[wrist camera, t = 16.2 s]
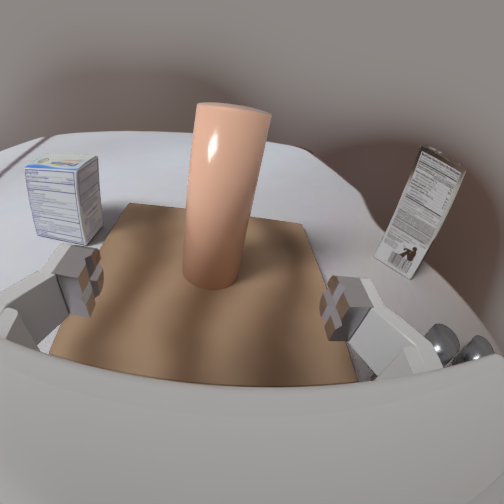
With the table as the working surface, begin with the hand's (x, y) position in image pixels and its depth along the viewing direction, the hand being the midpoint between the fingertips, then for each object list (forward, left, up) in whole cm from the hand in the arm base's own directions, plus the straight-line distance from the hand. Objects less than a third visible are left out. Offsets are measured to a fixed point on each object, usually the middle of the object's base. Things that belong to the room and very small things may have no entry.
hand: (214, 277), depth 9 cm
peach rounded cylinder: (0, +12, -10) cm, 16 cm away
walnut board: (0, +12, -11) cm, 16 cm away
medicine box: (-17, +17, -11) cm, 27 cm away
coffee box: (+26, +20, -11) cm, 35 cm away
